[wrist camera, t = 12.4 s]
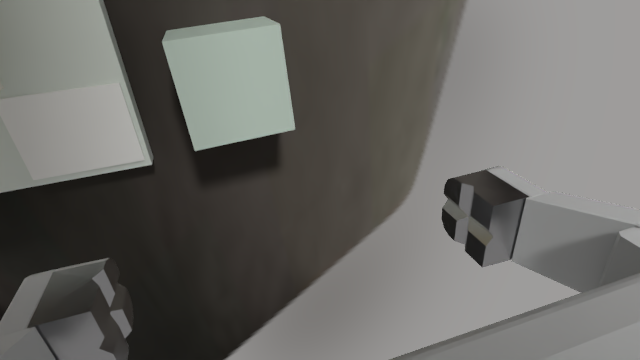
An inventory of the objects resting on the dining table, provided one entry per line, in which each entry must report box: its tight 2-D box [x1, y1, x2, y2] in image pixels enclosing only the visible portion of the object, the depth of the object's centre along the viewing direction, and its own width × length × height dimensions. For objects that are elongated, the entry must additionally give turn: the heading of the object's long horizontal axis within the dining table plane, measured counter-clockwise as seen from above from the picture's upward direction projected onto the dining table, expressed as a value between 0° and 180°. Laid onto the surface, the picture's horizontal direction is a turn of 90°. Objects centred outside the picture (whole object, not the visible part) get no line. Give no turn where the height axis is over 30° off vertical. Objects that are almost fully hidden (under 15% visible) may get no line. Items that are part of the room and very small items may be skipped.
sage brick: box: [162, 16, 295, 151], centre depth 23 cm, size 6×6×5 cm
